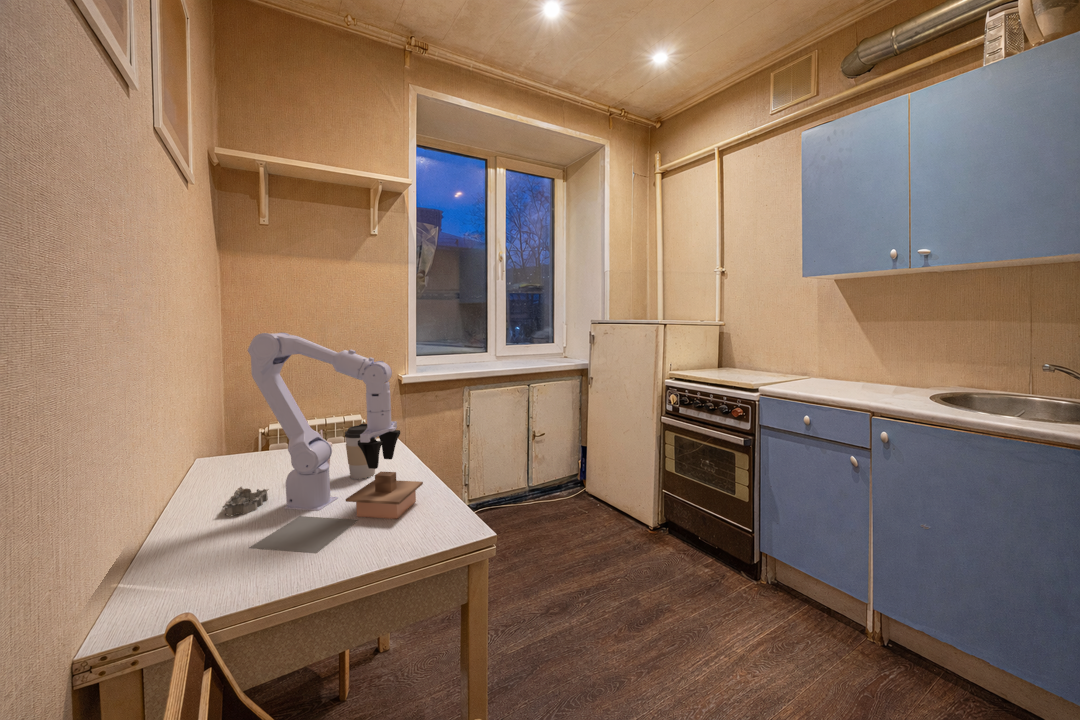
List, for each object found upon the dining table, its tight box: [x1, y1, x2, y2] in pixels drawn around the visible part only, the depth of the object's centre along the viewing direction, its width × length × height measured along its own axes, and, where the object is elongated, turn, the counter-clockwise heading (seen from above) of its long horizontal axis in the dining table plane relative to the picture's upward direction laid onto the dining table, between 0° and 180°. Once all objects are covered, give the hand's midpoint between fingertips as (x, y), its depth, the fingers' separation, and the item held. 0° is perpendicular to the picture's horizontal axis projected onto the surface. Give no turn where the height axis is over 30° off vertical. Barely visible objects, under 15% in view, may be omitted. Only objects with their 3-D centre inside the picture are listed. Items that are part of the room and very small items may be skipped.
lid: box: [345, 471, 424, 504], centre depth 107 cm, size 13×13×5 cm
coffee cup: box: [344, 423, 377, 480], centre depth 132 cm, size 9×9×15 cm
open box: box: [355, 490, 417, 520], centre depth 107 cm, size 10×10×4 cm
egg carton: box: [222, 486, 270, 517], centre depth 110 cm, size 11×8×4 cm
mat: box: [248, 515, 359, 554], centre depth 95 cm, size 15×15×1 cm
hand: (380, 463), depth 112 cm, fingers open, 7 cm apart
